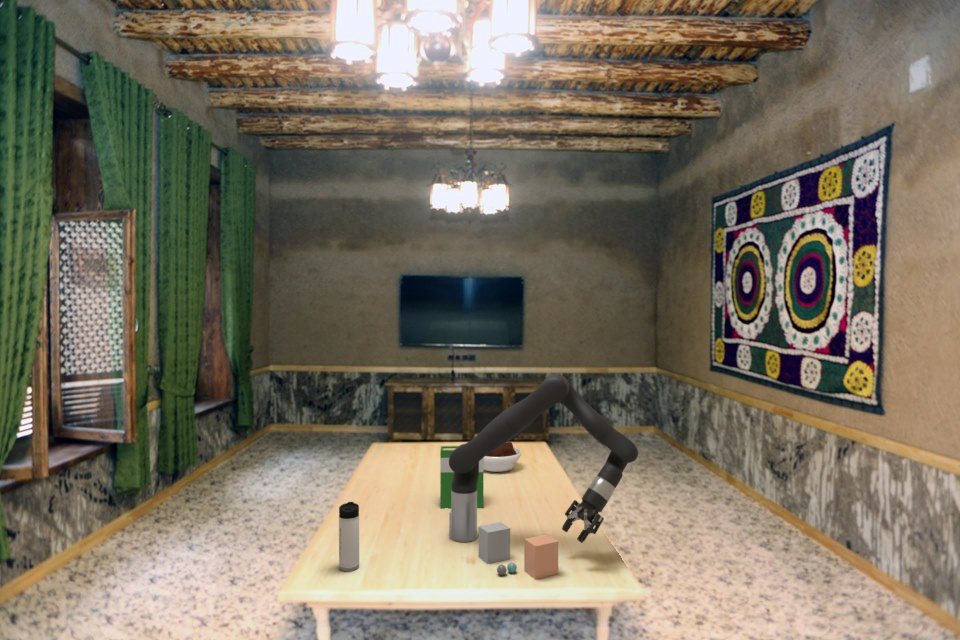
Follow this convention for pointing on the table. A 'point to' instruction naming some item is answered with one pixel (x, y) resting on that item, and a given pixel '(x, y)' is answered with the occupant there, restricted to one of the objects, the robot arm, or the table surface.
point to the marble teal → (511, 567)
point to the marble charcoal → (501, 569)
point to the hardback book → (447, 478)
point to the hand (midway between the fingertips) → (571, 536)
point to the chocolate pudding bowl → (502, 458)
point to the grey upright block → (494, 542)
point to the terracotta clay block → (541, 556)
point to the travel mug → (349, 536)
